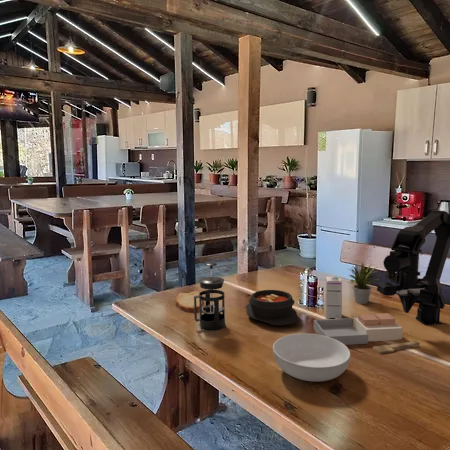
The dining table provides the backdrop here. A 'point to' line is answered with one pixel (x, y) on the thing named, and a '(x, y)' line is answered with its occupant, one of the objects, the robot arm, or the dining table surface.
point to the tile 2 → (385, 319)
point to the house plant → (362, 284)
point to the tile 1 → (368, 319)
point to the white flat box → (378, 331)
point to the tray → (340, 331)
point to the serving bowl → (311, 356)
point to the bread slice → (188, 301)
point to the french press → (212, 310)
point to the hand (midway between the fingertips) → (406, 312)
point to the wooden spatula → (394, 347)
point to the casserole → (272, 307)
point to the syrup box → (333, 297)
